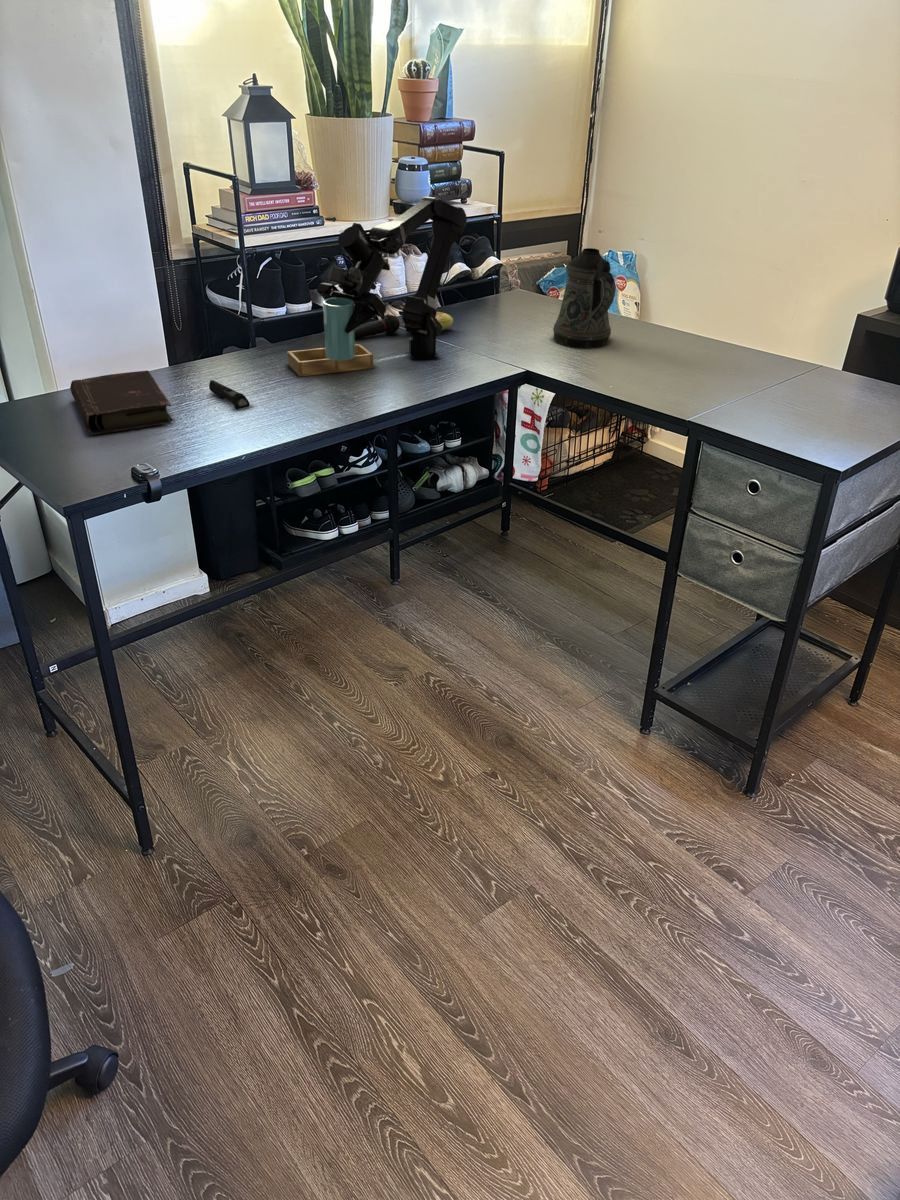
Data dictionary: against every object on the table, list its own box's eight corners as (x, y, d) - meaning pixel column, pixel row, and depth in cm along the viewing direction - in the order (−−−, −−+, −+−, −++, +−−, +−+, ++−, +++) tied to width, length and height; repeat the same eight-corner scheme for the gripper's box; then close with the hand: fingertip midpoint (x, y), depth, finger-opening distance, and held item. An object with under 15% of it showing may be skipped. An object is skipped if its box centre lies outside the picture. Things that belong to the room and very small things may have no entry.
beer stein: (570, 329, 266) (577, 241, 253) (628, 341, 257) (639, 250, 244) (541, 341, 255) (548, 249, 242) (602, 354, 245) (612, 259, 232)
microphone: (341, 353, 252) (402, 335, 260) (341, 335, 248) (403, 318, 255) (333, 342, 255) (393, 325, 262) (332, 325, 250) (394, 308, 258)
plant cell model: (461, 324, 260) (420, 310, 251) (449, 347, 263) (408, 335, 254) (445, 307, 267) (404, 293, 257) (434, 331, 270) (393, 318, 261)
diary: (88, 436, 187) (83, 413, 184) (72, 400, 205) (68, 379, 203) (177, 423, 194) (174, 401, 191) (154, 390, 213) (151, 369, 210)
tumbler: (353, 350, 220) (352, 297, 213) (356, 360, 215) (355, 306, 207) (324, 350, 219) (322, 297, 212) (326, 361, 213) (324, 306, 206)
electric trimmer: (220, 390, 214) (219, 377, 212) (251, 407, 204) (250, 393, 202) (206, 393, 212) (204, 380, 210) (236, 410, 202) (235, 397, 200)
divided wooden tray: (360, 357, 239) (359, 343, 237) (373, 368, 231) (373, 354, 229) (288, 365, 232) (287, 351, 230) (299, 376, 224) (298, 362, 222)
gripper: (319, 247, 212) (288, 302, 210) (376, 258, 202) (344, 316, 200) (344, 276, 221) (315, 329, 220) (400, 288, 211) (369, 344, 210)
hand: (334, 329), depth 212 cm, fingers closed on tumbler, 7 cm apart
